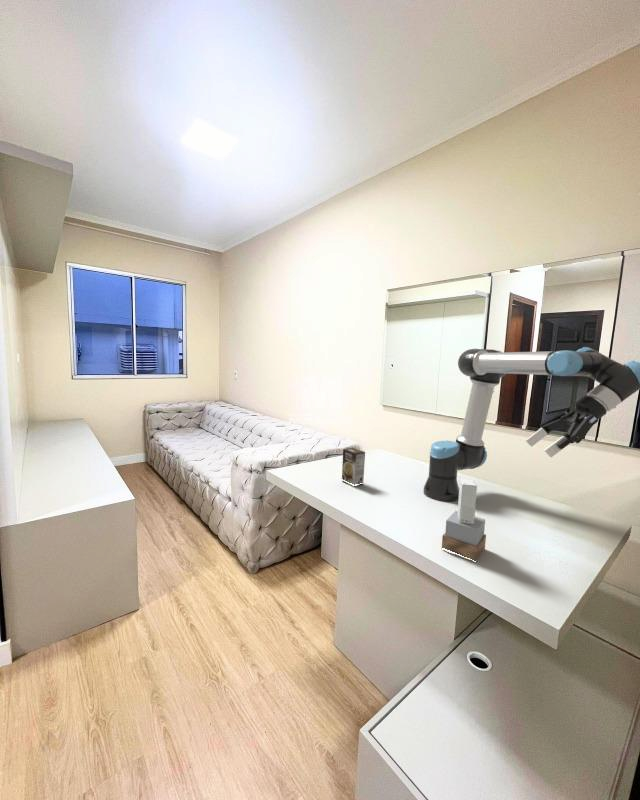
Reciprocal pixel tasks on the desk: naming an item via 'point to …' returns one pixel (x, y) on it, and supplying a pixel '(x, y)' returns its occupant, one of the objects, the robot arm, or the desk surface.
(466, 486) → the skincare box
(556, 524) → the desk surface
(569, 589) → the desk surface
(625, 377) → the robot arm
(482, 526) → the tower top block
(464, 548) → the tower base block
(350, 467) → the coffee box
